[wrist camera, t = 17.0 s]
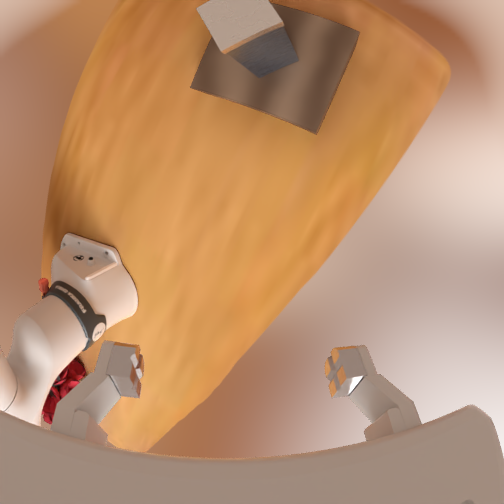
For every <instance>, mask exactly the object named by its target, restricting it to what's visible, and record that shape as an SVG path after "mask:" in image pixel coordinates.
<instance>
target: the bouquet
mask: <svg viewBox="0 0 504 504" xmlns="http://www.w3.org/2000/svg"><path fill="white" fill-rule="evenodd" d="M85 374H86V370H85V368H84V367H83V366H82V365H81V364H80V363H79V362H78V361H76V360H75V359H73V360H72V361H71V362H70V363H69V364H68V365H67V366H66V367H65V368H64V369H63V370H62V372H61V373H60V374H59V375H58V377H57V378H56V380H55V381H54V383H53V385H52V387H51V389H50V391H49V393H48V395H47V398H46V400H45V403H44V406H43V409H42V414H44V416H43V418H44V421H45V422H47V423H49V424H52V421H53V417H54V413H55V409H56V405H57V403H58V402H59V401H60V400H61V399H62V398H63V397H65V396H66V395H67V394H68V393H69V392H70V391H71V390H72V389H73V388H74V387H75V386H77V385H78V384H79V383H80V382H79V381H78V380H80V379H81V378H83V377H84V376H85ZM42 414H41V415H42Z"/></svg>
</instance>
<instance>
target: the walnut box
mask: <svg viewBox="0 0 504 504" xmlns="http://www.w3.org/2000/svg"><path fill="white" fill-rule="evenodd" d="M270 4H271V5H272V6H273V8H274V9H275V11H276V12H277V14H278V15H279V17H280V18H281V20H282V21H283V23H284V29H285V31H286V33H287V35H288V37H289V39H290V41H291V44H292V46H293V48H294V50H295V52H296V55H297V57H298V59H299V61H297V62H295V63H292V64H290V65H287V66H285V67H283V68H280V69H278V70H276V71H274V72H272V73H269V74H267V75H265V76H263V77H261V78H258V77H257V76H256V75H254V74H253V73H252V72H251V71H249V70H248V69H247V68H245V67H244V66H243V65H241V64H240V63H239V62H237V61H236V60H235V59H233V58H232V57H231V56H229V55H228V54H224V53H222V52H221V51H220V49H219V47H218V46H217V44H216V42H215V40H214V38H213V37H212V38H211V40H210V42H209V44H208V46H207V49H206V51H205V53H204V55H203V58H202V60H201V62H200V65H199V67H198V69H197V72H196V74H195V77H194V79H193V82H192V84H191V87H190V88H192V89H195V90H198V91H201V92H204V93H207V94H210V95H213V96H216V97H220V98H223V99H226V100H229V101H232V102H235V103H238V104H241V105H244V106H247V107H250V108H252V109H255V110H258V111H261V112H263V113H266V114H268V115H271V116H274V117H276V118H279V119H281V120H284V121H286V122H289V123H291V124H293V125H296V126H298V127H300V128H303V129H305V130H307V131H310V132H312V133H314V134H316V135H317V133H318V131H319V129H320V127H321V124H322V122H323V120H324V118H325V115H326V113H327V111H328V109H329V106H330V104H331V102H332V100H333V97H334V95H335V93H336V90H337V88H338V86H339V84H340V81H341V79H342V77H343V74H344V72H345V70H346V68H347V65H348V63H349V61H350V58H351V56H352V54H353V51H354V49H355V47H356V43H357V40H358V36H359V33H360V32H359V31H356V30H354V29H352V28H349V27H347V26H344V25H342V24H339V23H336V22H334V21H331V20H328V19H325V18H322V17H319V16H316V15H313V14H310V13H307V12H304V11H300V10H297V9H293V8H289V7H286V6H282V5H278V4H273V3H270Z"/></svg>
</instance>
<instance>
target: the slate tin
mask: <svg viewBox="0 0 504 504" xmlns="http://www.w3.org/2000/svg"><path fill="white" fill-rule="evenodd" d="M196 9H197V11H198V13H199V14H200V16H201V18H202V19H203V21H204V23H205V25H206V26H207V28H208V30H209V31H210V33H211V35H212V37H213V38H214V40H215V42H216V44H217V46H218V47H219V49H220V51H221V52H222V53H224V54H228V55H229V56H231V57H232V58H233V59H235V60H236V61H237V62H239V63H240V64H241V65H243V66H244V67H245V68H247V69H248V70H249V71H251V72H252V73H253V74H254V75H256V76H257V77H258V78H261V77H263V76H265V75H267V74H269V73H272V72H274V71H276V70H278V69H280V68H283V67H285V66H287V65H290V64H292V63H295V62H297V61H299V59H298V57H297V55H296V52H295V50H294V48H293V46H292V44H291V41H290V39H289V37H288V35H287V33H286V31H285V29H284V23H283V21H282V20H281V18H280V17H279V15H278V14H277V12H276V11H275V9H274V8H273V6H272V5H271V4H270V2H269V1H268V0H210V1H208V2H206V3H204V4H203V5H201V6H199V7H198V8H196Z"/></svg>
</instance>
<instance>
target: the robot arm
mask: <svg viewBox="0 0 504 504" xmlns="http://www.w3.org/2000/svg"><path fill="white" fill-rule="evenodd" d="M51 282H52V286H51V287H50V289H49V287H48V284H49V282H48V279H46V278H42V279H40V280H39V286H40V288H39V290H40V291H41V292H43V296H42V300H41V301H39V302H38V303H37V304H35V305H34V306H32V307H31V308H29V309H28V310H27V311H25V312H24V313H22V314H21V315H20V316H19V317H18V319H17V320H16V322H15V325H14V329H13V342H12V346H11V350H10V352H9V355H8V357H7V358H6V357H5V355H4V353H3V351H2V349H1V347H0V504H504V458H503V454H502V450H501V446H500V442H499V439H498V435H497V432H496V429H495V426H494V424H493V422H492V420H491V418H490V417H489V416H488V415H487V414H486V413H485V412H483V411H482V410H481V409H479V408H478V407H476V406H475V405H467V406H465V407H463V408H461V409H458V410H456V411H454V412H452V413H450V414H447V415H445V416H442V417H440V418H438V419H435V420H432V421H430V422H427V423H424V424H421V421H420V418H419V415H418V413H417V410H416V407H415V405H414V402H413V401H412V400H411V399H409V398H408V397H407V396H406V395H405V394H403V393H402V392H401V391H400V390H399V389H397V388H396V387H395V386H394V385H393V384H391V383H390V382H389V381H388V380H387V379H386V378H384V377H383V376H382V375H381V374H377V372H376V369H375V366H374V364H373V362H372V359H371V356H370V354H369V351H368V349H367V347H366V346H365V345H360V346H348V347H338V348H334V349H332V351H331V355H332V356H330V357H328V358H327V360H326V362H325V374H326V377H327V378H328V379H329V380H330V384H329V389H330V393H331V397H332V398H337V397H345V396H349V398H350V399H351V401H352V402H353V403H354V404H355V405H356V406H357V407H358V408H359V409H360V410H361V411H362V413H363V414H364V415H365V416H366V417H367V418H368V419H369V420H370V421H371V422H372V424H371V425H370V426H368V427H367V428H366V429H365V431H364V434H365V437H366V441H365V442H361V443H357V444H352V445H348V446H343V447H338V448H333V449H328V450H321V451H315V452H308V453H301V454H292V455H283V456H271V457H255V458H196V457H181V456H170V455H160V454H152V453H145V452H138V451H132V450H126V449H121V448H116V447H111V446H106V444H107V436H108V435H107V433H106V432H105V431H104V430H103V429H102V428H101V427H100V426H99V425H98V424H99V423H100V422H101V421H102V419H103V418H104V417H105V416H106V415H107V413H108V412H109V411H110V410H111V409H112V407H113V406H114V405H115V404H116V403H117V401H118V400H119V399H120V398H121V396H125V397H134V398H140V391H141V382H140V380H139V379H140V378H141V377H142V376H143V372H144V359H143V356H142V355H141V354H140V350H141V349H140V347H139V345H136V344H127V343H120V342H113V341H106V340H105V341H104V342H103V344H102V346H101V350H100V353H99V357H98V360H97V364H96V367H95V371H94V373H93V372H91V373H90V374H89V375H87V376H86V377H85V378H84V379H83V380H82V381H81V382H80V383H79V384H78V385H77V386H75V387H74V388H73V389H72V390H71V391H70V392H69V393H68V394H67V395H66V396H65V397H63V398H62V399H61V400H60V401H59V402H58V403H57V405H56V409H55V413H54V417H53V421H52V425H51V430H48V429H46V428H43V427H41V414H42V409H43V406H44V403H45V400H46V398H47V395H48V393H49V391H50V389H51V387H52V385H53V383H54V381H55V380H56V378H57V377H58V375H59V374H60V373H61V372H62V370H63V369H64V368H65V367H66V366H67V365H68V364H69V363H70V362H71V361H72V360H73V359H74V358H75V357H76V356H77V355H78V354H79V353H80V352H81V351H85V350H87V349H88V348H89V347H90V346H91V345H92V344H93V343H94V342H96V341H97V340H98V339H99V338H100V337H101V336H102V334H103V333H104V332H105V330H107V329H108V328H110V327H111V326H113V325H114V324H116V323H118V322H119V321H121V320H123V319H126V318H129V317H131V316H132V315H133V314H134V313H135V311H136V309H137V306H138V296H137V291H136V288H135V285H134V283H133V281H132V279H131V277H130V275H129V274H128V272H127V271H126V269H125V268H124V266H123V265H122V262H121V259H120V256H119V254H118V252H117V250H116V249H115V248H113V247H110V246H107V245H104V244H101V243H98V242H95V241H92V240H89V239H86V238H83V237H80V236H77V235H74V234H71V233H67V234H65V236H64V237H63V239H62V242H61V247H60V251H58V252H57V253H56V254H55V256H54V258H53V260H52V265H51ZM47 291H48V292H47Z"/></svg>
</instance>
